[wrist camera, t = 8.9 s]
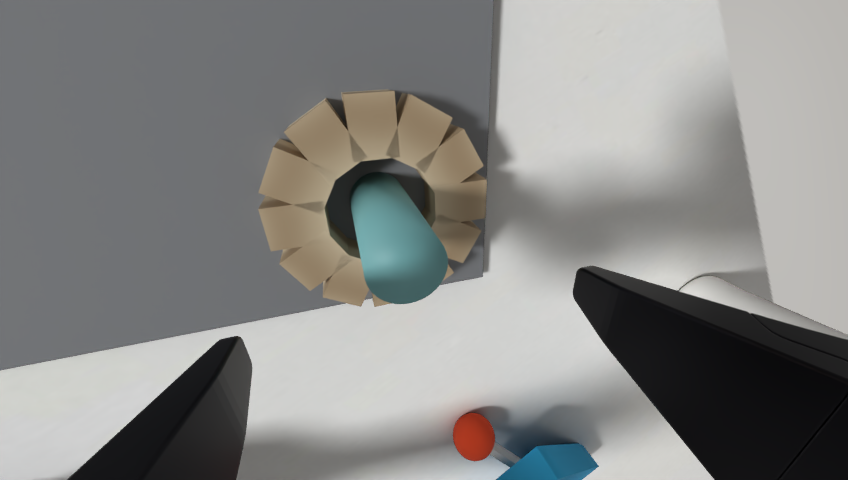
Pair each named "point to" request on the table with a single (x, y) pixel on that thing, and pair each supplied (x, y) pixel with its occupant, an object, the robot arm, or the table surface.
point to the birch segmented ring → (339, 152)
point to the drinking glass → (751, 303)
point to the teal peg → (395, 241)
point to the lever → (538, 470)
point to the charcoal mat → (192, 152)
